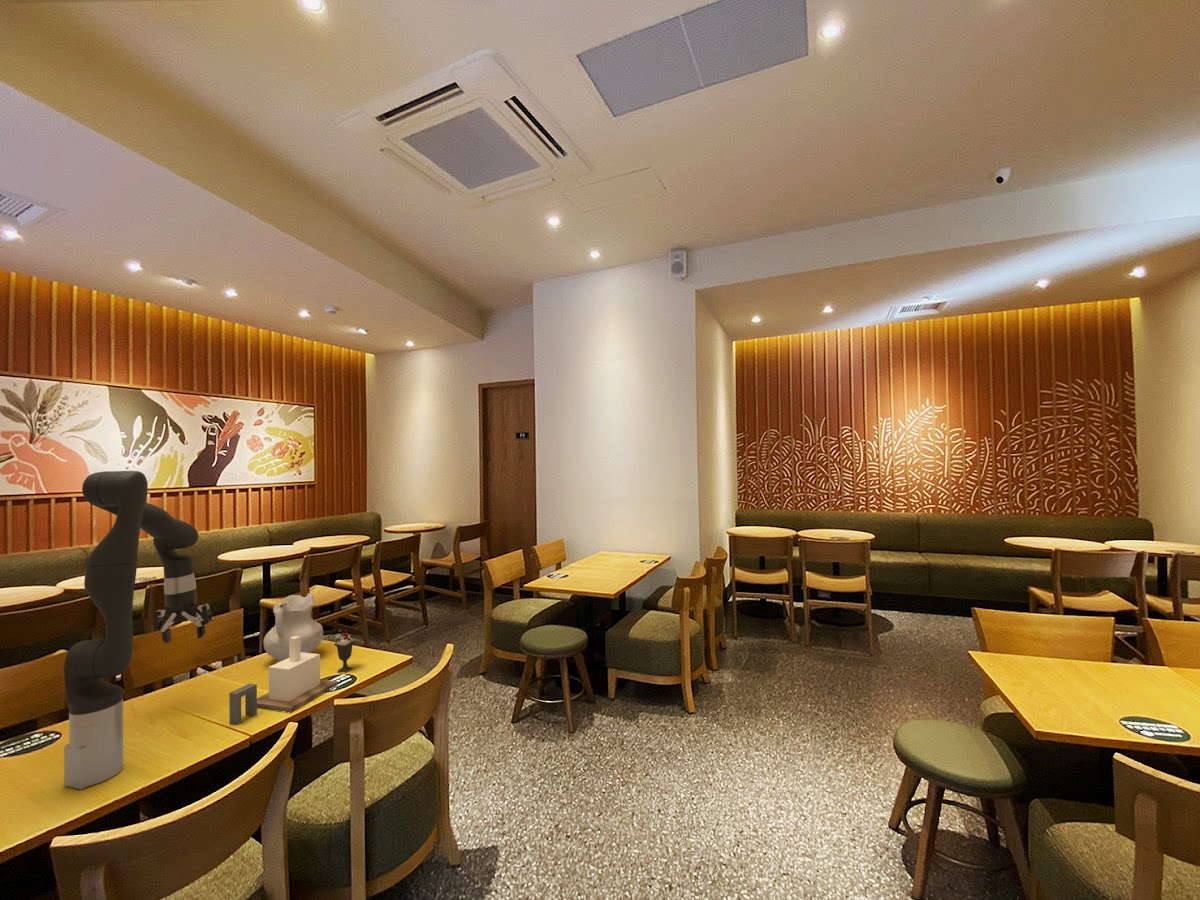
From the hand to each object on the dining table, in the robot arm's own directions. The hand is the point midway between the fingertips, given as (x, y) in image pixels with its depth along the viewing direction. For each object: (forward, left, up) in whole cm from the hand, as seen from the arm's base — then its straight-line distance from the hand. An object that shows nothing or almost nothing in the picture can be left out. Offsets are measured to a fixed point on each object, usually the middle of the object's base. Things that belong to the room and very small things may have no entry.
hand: (184, 639), depth 152 cm
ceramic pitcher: (+35, -4, -21) cm, 42 cm away
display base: (+13, -29, -21) cm, 38 cm away
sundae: (+33, -30, -21) cm, 50 cm away
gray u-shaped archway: (-2, -26, -21) cm, 33 cm away
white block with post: (+13, -29, -19) cm, 37 cm away
